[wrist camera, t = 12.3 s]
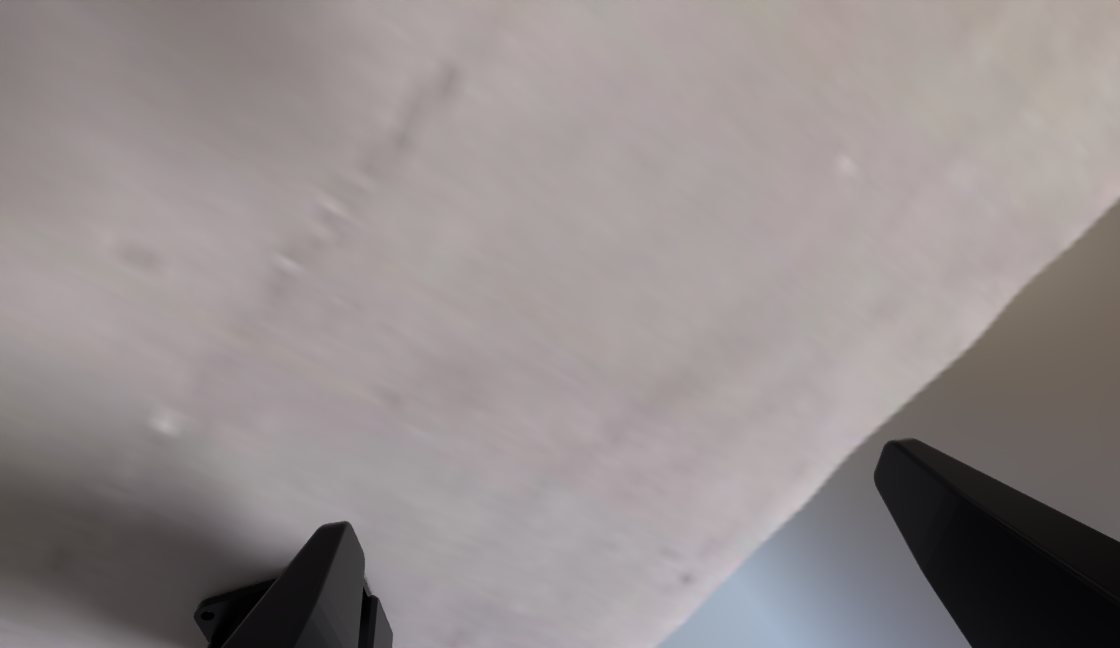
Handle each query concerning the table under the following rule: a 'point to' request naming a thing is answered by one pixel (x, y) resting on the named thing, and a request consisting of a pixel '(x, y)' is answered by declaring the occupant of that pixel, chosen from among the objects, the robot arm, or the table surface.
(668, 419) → the table surface
